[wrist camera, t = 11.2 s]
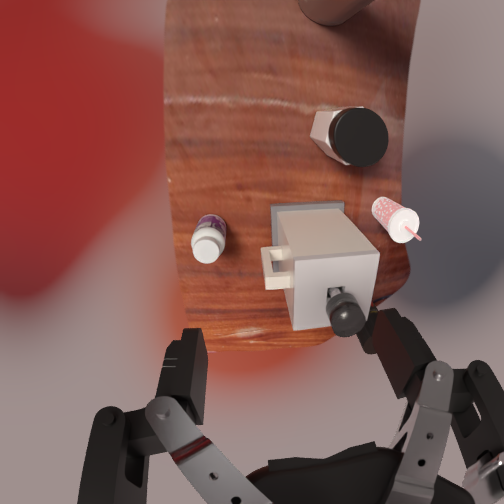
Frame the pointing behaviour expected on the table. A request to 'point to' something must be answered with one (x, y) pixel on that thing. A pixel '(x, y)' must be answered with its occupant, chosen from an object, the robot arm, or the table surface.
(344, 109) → the jar
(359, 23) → the table surface
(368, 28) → the table surface
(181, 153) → the table surface
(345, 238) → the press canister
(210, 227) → the pill bottle
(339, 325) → the plunger
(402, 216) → the beverage cup
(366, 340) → the deodorant
